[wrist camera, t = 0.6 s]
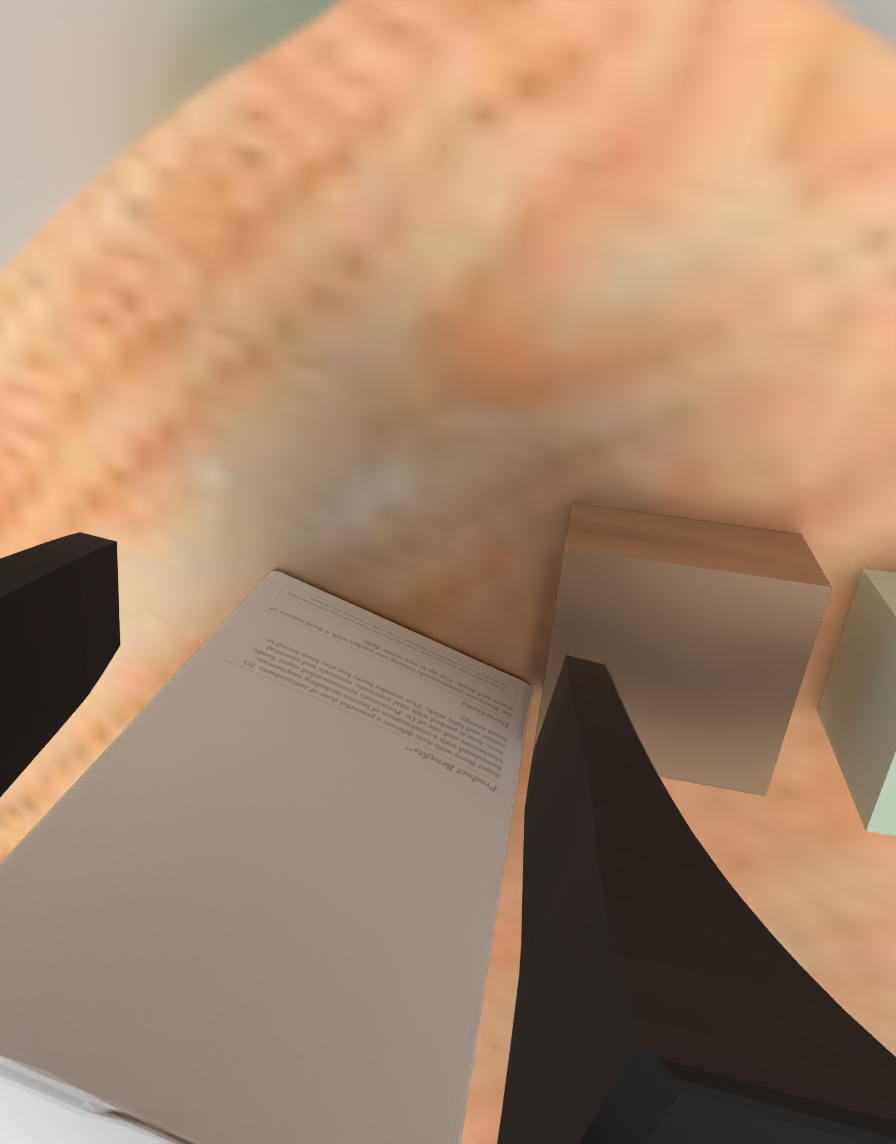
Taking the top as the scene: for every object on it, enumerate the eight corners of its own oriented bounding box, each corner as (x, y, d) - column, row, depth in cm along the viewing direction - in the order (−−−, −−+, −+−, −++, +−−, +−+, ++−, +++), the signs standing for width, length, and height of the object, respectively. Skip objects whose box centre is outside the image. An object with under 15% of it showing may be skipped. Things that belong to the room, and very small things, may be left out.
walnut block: (745, 718, 23) (765, 796, 20) (544, 683, 24) (532, 753, 21) (799, 531, 21) (831, 587, 18) (572, 499, 22) (564, 547, 19)
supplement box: (204, 767, 28) (-173, 1274, 15) (272, 560, 24) (-161, 997, 11) (436, 874, 28) (271, 1481, 15) (543, 685, 24) (452, 1281, 11)
